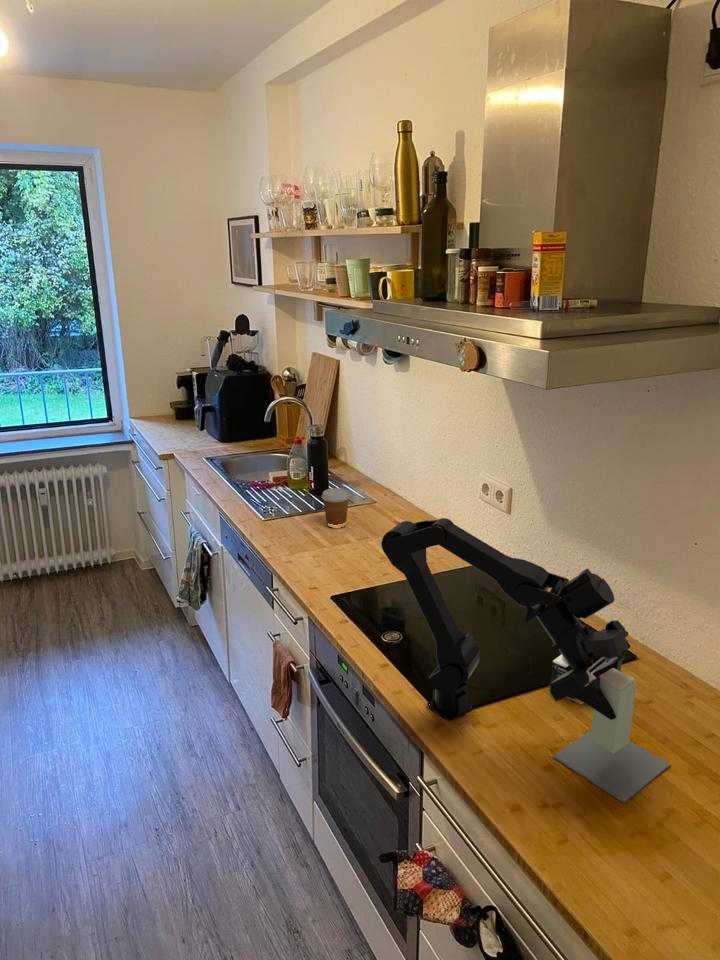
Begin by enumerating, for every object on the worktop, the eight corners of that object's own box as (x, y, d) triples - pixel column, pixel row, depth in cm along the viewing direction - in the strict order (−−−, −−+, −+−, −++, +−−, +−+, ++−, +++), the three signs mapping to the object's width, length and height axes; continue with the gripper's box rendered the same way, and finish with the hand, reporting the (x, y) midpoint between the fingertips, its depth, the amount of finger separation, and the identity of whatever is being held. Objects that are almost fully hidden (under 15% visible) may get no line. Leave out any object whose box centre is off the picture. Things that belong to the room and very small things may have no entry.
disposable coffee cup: (316, 527, 234) (315, 493, 231) (334, 518, 242) (333, 486, 238) (338, 532, 229) (337, 498, 225) (356, 524, 236) (355, 490, 233)
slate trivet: (553, 757, 123) (553, 755, 123) (599, 726, 131) (600, 724, 131) (624, 803, 112) (624, 801, 112) (670, 765, 120) (670, 763, 120)
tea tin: (590, 739, 119) (596, 676, 116) (606, 729, 122) (612, 666, 118) (613, 753, 116) (620, 688, 112) (629, 742, 118) (636, 678, 115)
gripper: (570, 632, 108) (632, 723, 104) (624, 593, 121) (681, 672, 117) (524, 658, 116) (580, 743, 112) (579, 618, 129) (632, 694, 124)
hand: (620, 711), depth 116 cm, fingers closed on tea tin, 5 cm apart
